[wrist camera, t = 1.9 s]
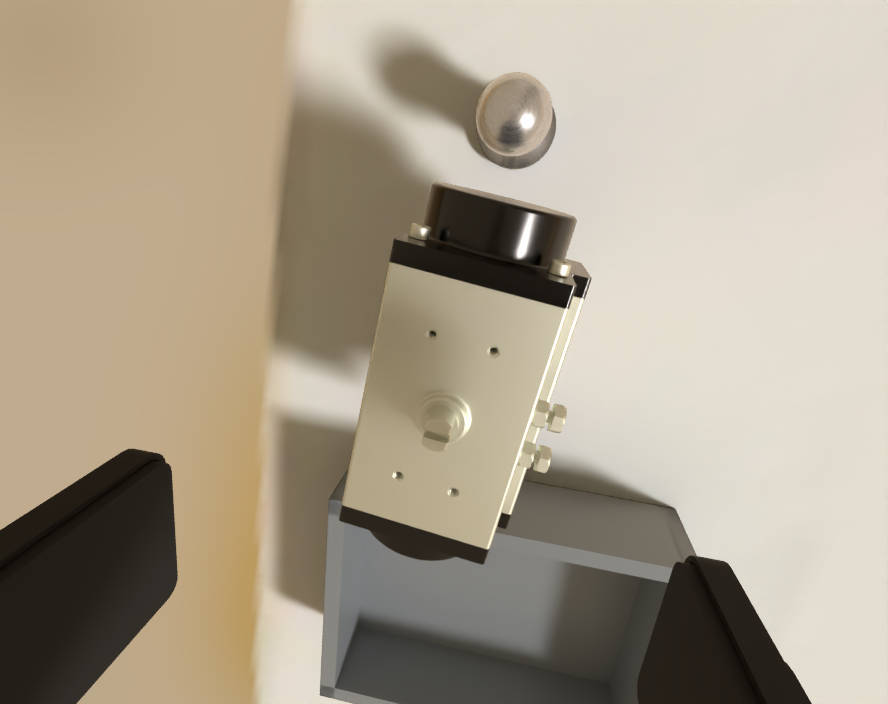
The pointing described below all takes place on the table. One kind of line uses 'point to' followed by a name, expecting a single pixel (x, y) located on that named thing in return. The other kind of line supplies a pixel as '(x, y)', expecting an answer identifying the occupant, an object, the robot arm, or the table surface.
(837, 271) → the table surface
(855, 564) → the table surface
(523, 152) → the metal knob
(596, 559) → the tray
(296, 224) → the table surface
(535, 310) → the pneumatic valve
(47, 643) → the robot arm
